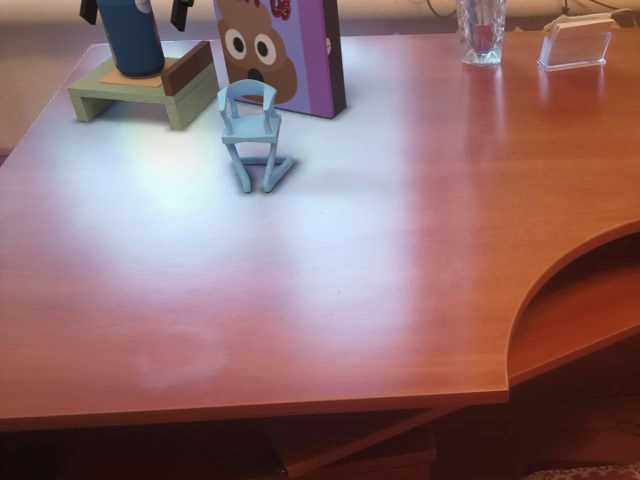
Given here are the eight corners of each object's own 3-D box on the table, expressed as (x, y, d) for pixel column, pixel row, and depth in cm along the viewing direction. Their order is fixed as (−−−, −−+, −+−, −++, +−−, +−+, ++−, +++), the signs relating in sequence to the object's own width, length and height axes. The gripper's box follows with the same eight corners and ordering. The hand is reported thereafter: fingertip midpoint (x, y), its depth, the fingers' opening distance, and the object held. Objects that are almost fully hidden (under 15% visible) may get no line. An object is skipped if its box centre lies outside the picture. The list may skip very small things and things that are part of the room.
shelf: (78, 121, 106) (59, 66, 101) (125, 84, 117) (110, 32, 111) (182, 130, 105) (168, 75, 99) (220, 92, 115) (209, 40, 110)
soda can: (177, 69, 108) (156, -18, 100) (140, 84, 104) (115, -5, 96) (145, 59, 111) (122, -26, 103) (107, 74, 106) (80, -14, 98)
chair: (226, 193, 92) (205, 101, 84) (236, 162, 98) (218, 73, 90) (287, 192, 92) (273, 100, 84) (294, 161, 98) (281, 73, 90)
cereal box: (232, 100, 113) (198, -75, 97) (249, 88, 116) (219, -82, 100) (331, 119, 109) (312, -61, 93) (346, 107, 112) (330, -68, 96)
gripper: (246, -97, 107) (226, 42, 106) (88, -106, 109) (67, 30, 108) (225, -134, 99) (203, 16, 98) (55, -143, 102) (32, 3, 101)
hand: (132, 23), depth 103 cm, fingers open, 13 cm apart
